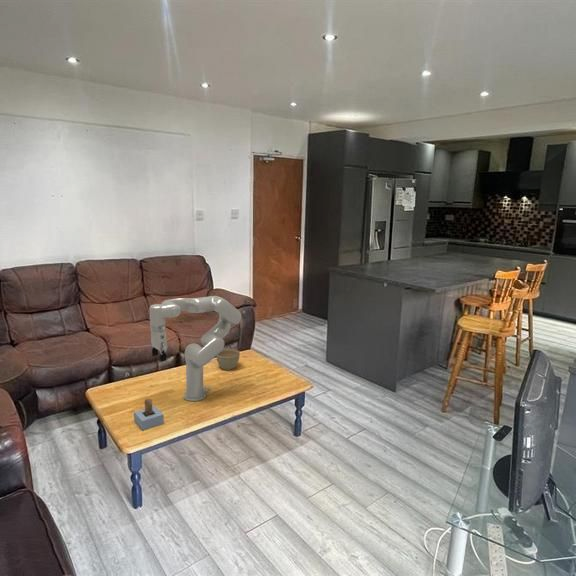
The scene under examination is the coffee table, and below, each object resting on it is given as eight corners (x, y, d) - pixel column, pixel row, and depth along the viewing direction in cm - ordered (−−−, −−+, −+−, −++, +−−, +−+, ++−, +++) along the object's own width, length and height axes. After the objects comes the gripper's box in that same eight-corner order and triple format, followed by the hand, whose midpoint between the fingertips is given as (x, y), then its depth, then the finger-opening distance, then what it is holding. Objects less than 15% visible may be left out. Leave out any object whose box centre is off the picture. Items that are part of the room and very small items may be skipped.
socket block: (155, 414, 217) (154, 405, 216) (163, 423, 209) (163, 414, 208) (134, 420, 210) (133, 411, 209) (142, 430, 202) (142, 421, 201)
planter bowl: (210, 367, 281) (210, 352, 278) (228, 361, 293) (228, 346, 291) (226, 374, 271) (226, 359, 268) (244, 367, 283) (244, 352, 281)
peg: (151, 419, 212) (150, 398, 210) (153, 422, 209) (153, 400, 207) (144, 421, 210) (143, 400, 207) (146, 424, 207) (146, 402, 205)
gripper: (172, 330, 214) (173, 361, 217) (157, 322, 226) (158, 351, 230) (158, 333, 209) (159, 364, 212) (144, 325, 221) (145, 355, 225)
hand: (159, 358), depth 221 cm, fingers open, 9 cm apart
